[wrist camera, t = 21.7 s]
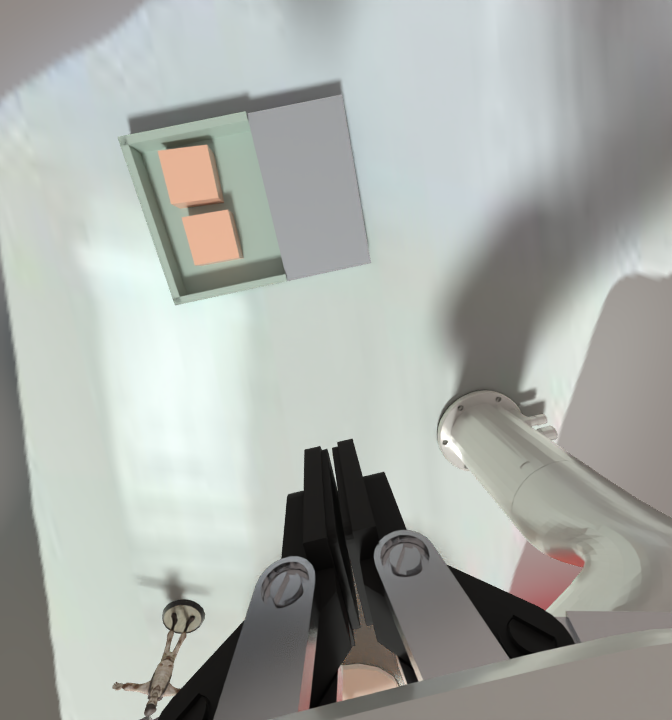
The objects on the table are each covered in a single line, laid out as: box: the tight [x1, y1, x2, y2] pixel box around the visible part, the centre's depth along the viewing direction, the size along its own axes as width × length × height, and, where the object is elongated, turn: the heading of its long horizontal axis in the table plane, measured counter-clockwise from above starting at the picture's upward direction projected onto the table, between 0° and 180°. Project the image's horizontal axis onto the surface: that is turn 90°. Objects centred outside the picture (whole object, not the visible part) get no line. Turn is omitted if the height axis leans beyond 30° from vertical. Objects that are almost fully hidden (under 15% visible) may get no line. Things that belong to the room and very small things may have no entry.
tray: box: [118, 111, 287, 305], centre depth 36 cm, size 13×17×3 cm
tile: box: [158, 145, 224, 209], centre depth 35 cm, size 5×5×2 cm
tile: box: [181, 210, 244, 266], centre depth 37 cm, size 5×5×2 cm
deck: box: [247, 94, 371, 281], centre depth 37 cm, size 10×17×2 cm, turn 12°
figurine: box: [113, 600, 205, 716], centre depth 46 cm, size 11×7×12 cm, turn 72°
